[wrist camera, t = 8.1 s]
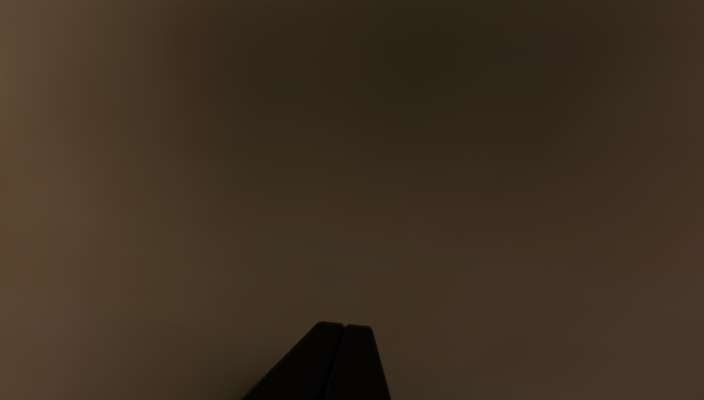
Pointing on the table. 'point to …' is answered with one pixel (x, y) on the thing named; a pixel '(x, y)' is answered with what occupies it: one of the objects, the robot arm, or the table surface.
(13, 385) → the table surface
